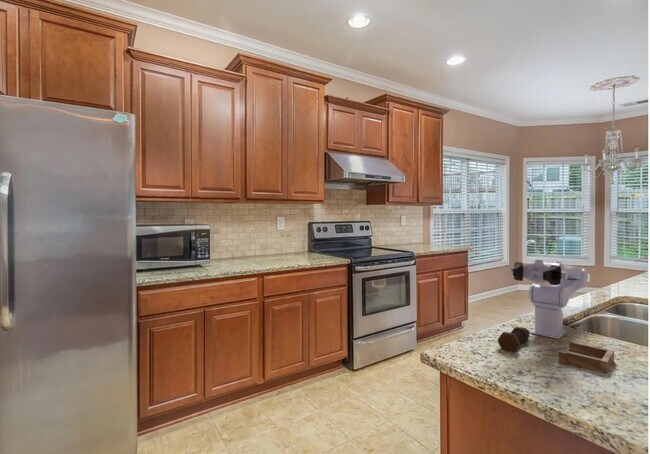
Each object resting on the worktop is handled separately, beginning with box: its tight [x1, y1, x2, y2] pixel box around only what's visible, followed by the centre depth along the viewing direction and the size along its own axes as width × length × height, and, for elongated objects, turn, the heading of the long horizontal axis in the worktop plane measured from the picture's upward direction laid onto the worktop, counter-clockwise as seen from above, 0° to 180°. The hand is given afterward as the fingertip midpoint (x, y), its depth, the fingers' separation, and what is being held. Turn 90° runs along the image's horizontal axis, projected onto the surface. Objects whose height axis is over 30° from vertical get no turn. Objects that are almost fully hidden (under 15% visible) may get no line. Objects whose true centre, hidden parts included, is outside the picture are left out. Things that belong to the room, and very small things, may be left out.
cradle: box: [557, 339, 615, 374], centre depth 91 cm, size 13×10×3 cm
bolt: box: [497, 326, 531, 353], centre depth 103 cm, size 6×5×15 cm
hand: (528, 273), depth 99 cm, fingers open, 7 cm apart
